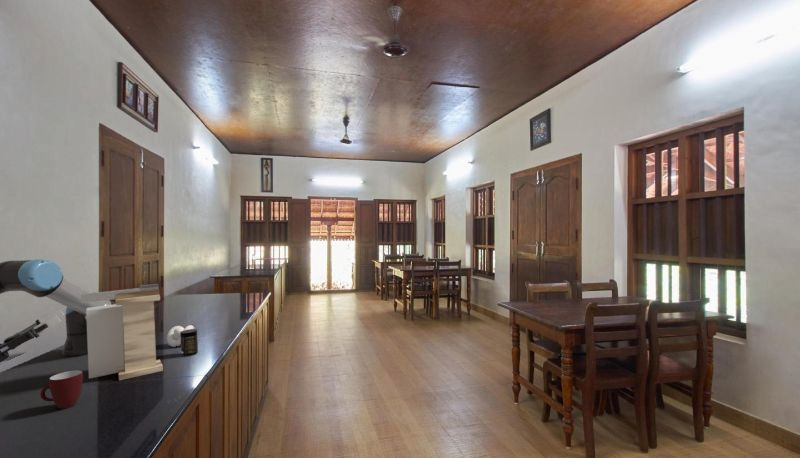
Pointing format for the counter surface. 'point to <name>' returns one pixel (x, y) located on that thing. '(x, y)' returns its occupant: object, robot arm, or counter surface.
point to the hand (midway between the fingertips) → (60, 315)
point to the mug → (64, 388)
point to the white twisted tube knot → (176, 335)
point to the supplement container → (189, 342)
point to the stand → (138, 333)
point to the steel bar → (114, 293)
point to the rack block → (104, 340)
